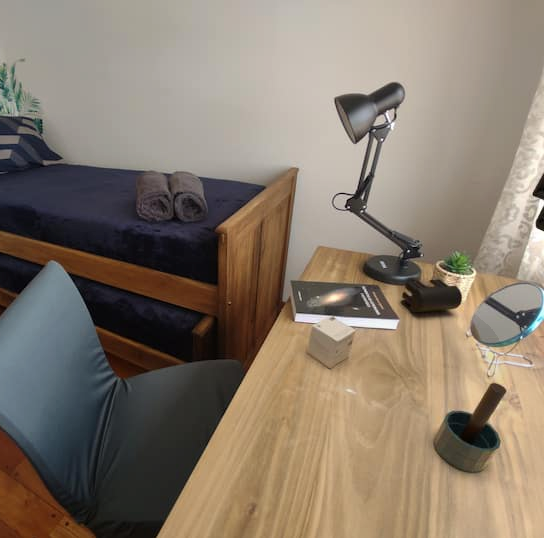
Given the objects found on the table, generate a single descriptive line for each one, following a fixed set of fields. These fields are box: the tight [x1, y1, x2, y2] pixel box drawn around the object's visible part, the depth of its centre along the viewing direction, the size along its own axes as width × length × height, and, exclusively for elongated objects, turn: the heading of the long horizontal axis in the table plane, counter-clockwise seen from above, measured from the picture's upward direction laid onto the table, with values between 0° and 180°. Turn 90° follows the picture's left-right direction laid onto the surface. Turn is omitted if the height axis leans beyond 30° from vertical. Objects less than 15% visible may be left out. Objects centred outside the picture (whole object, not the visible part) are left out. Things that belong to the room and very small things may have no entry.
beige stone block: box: [306, 315, 356, 369], centre depth 73 cm, size 6×6×7 cm
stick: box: [459, 382, 507, 445], centre depth 52 cm, size 2×2×14 cm
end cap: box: [400, 278, 463, 313], centre depth 87 cm, size 10×7×7 cm
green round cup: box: [433, 410, 502, 473], centre depth 55 cm, size 7×7×6 cm
